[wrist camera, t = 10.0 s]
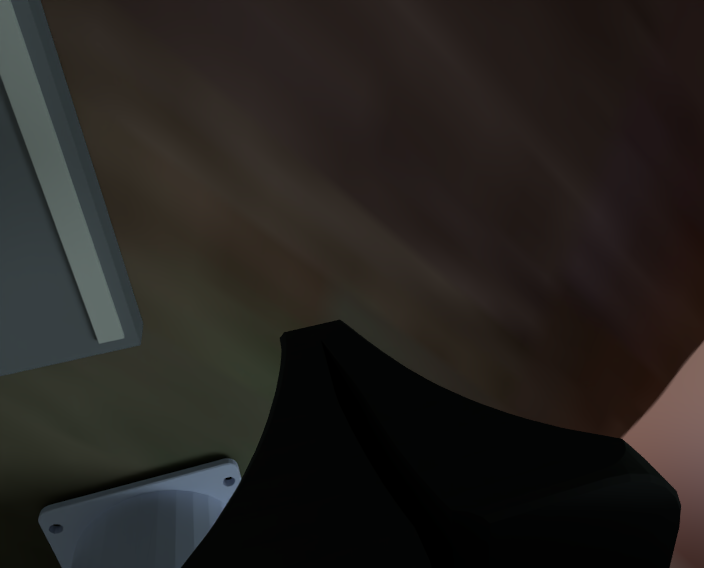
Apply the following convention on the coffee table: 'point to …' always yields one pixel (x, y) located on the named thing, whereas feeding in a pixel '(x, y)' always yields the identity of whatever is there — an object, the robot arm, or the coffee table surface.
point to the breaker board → (52, 214)
